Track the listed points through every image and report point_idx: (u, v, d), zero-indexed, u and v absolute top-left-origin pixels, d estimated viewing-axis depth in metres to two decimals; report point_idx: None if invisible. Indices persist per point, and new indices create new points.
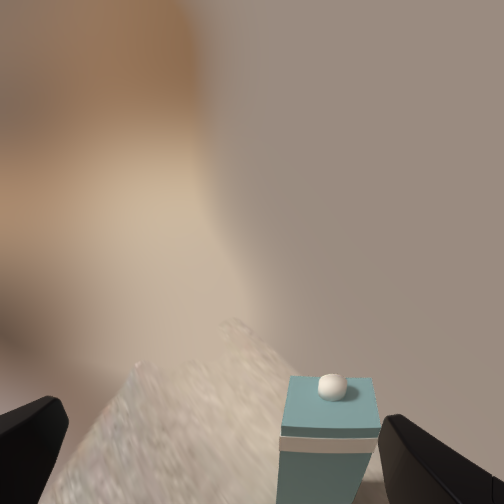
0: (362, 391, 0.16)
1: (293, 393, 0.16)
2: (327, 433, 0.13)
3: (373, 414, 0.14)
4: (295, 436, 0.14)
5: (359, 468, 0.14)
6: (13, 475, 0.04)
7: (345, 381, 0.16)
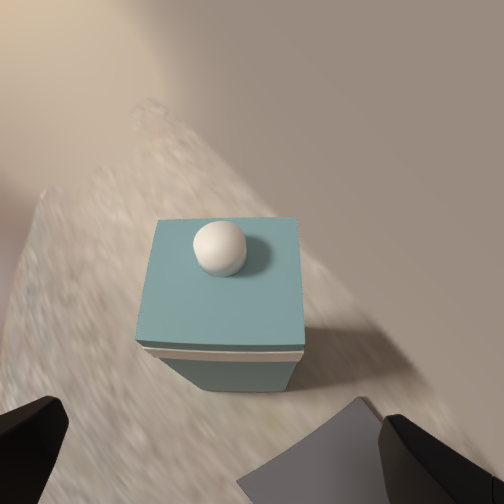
0: (278, 251, 0.10)
1: (158, 261, 0.10)
2: (212, 347, 0.09)
3: (293, 310, 0.09)
4: (164, 348, 0.09)
5: (283, 368, 0.11)
6: (14, 475, 0.04)
7: (242, 239, 0.10)
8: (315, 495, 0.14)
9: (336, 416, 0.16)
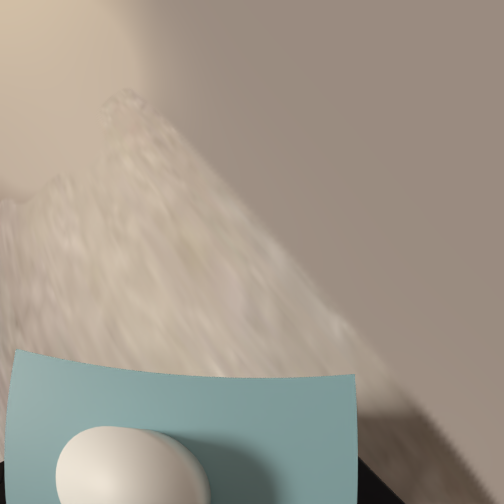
0: (298, 487, 0.03)
1: (18, 457, 0.03)
2: None
3: None
4: None
5: None
6: None
7: None
8: None
9: None
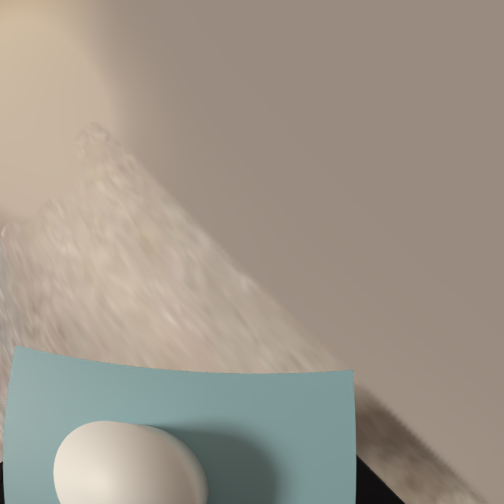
0: (297, 484, 0.03)
1: (17, 454, 0.03)
2: None
3: None
4: None
5: None
6: None
7: (183, 499, 0.02)
8: None
9: None
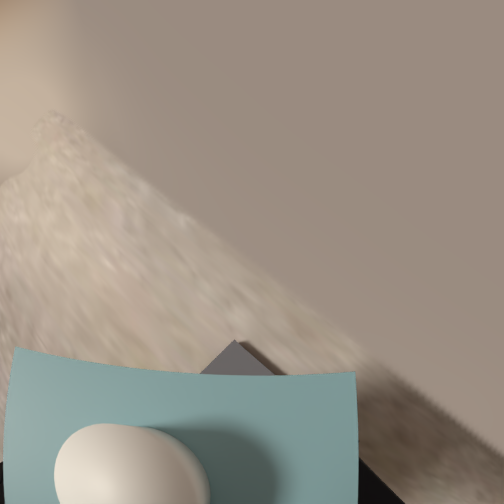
0: (299, 486, 0.03)
1: (17, 456, 0.03)
2: None
3: None
4: None
5: None
6: None
7: (185, 502, 0.02)
8: None
9: (211, 364, 0.16)
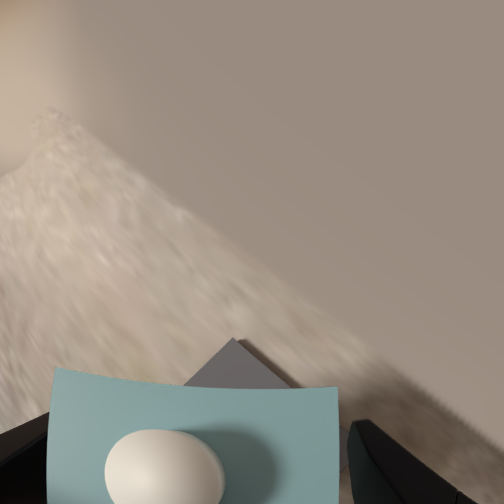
0: (293, 474, 0.04)
1: (60, 459, 0.04)
2: None
3: None
4: None
5: None
6: (38, 487, 0.04)
7: (210, 485, 0.03)
8: None
9: (208, 363, 0.15)
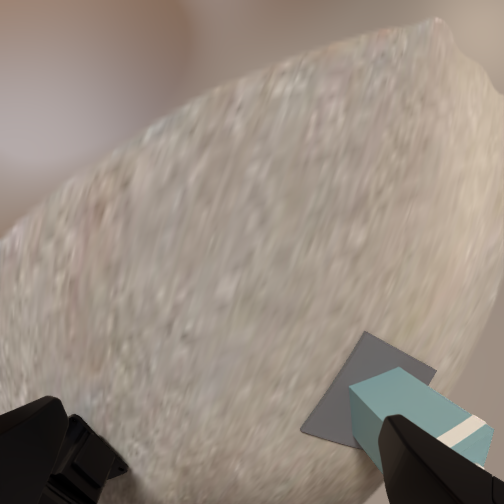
0: None
1: (471, 449, 0.10)
2: None
3: None
4: None
5: None
6: (14, 475, 0.04)
7: None
8: None
9: (424, 364, 0.22)
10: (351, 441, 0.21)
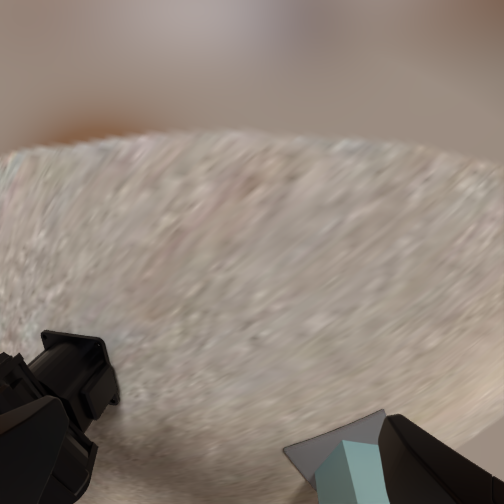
0: None
1: None
2: None
3: None
4: None
5: None
6: (14, 475, 0.04)
7: None
8: None
9: None
10: (309, 475, 0.23)
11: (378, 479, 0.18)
